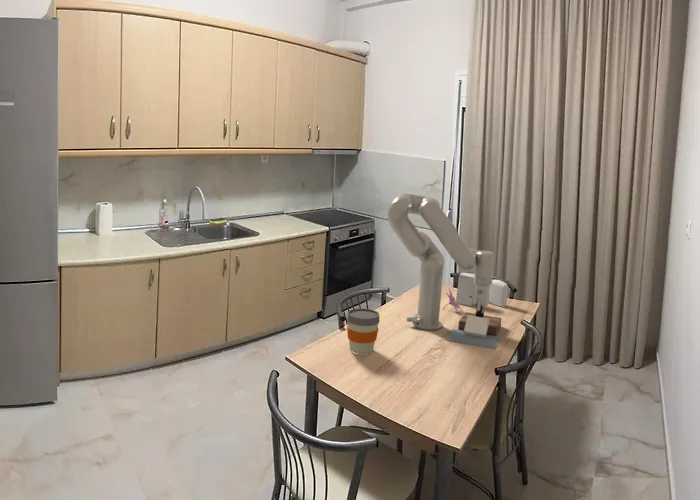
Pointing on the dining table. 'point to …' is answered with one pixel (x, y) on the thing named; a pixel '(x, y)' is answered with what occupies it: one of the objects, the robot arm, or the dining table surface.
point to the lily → (452, 301)
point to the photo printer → (498, 293)
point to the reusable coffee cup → (362, 330)
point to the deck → (492, 328)
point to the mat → (473, 339)
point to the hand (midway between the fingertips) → (478, 320)
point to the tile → (476, 326)
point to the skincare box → (466, 289)
